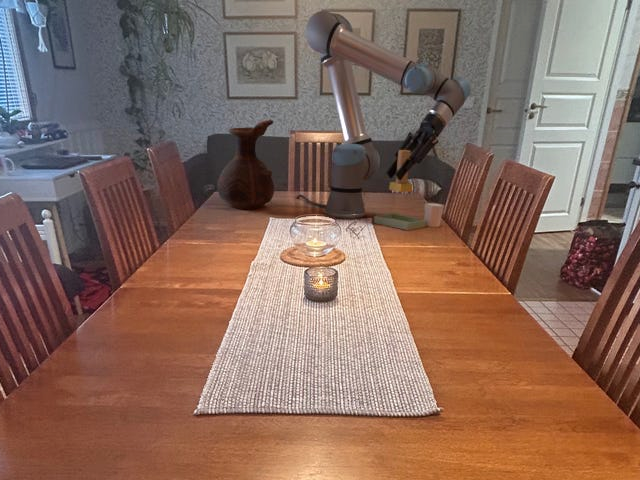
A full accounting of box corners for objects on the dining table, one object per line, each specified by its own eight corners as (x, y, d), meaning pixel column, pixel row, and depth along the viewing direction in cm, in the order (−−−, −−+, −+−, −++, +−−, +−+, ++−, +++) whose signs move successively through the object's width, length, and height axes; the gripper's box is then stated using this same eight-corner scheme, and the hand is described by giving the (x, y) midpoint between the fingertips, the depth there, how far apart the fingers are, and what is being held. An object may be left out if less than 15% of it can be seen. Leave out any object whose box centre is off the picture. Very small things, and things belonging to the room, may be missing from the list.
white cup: (442, 227, 209) (446, 206, 206) (423, 226, 209) (426, 205, 205) (439, 223, 215) (442, 203, 211) (420, 223, 215) (423, 202, 211)
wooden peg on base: (389, 189, 208) (393, 149, 201) (399, 189, 210) (404, 149, 203) (400, 192, 203) (405, 151, 197) (411, 191, 206) (416, 151, 199)
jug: (220, 211, 219) (217, 118, 203) (216, 201, 237) (212, 115, 221) (278, 211, 223) (279, 120, 207) (269, 201, 241) (270, 117, 225)
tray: (373, 222, 212) (374, 216, 211) (391, 219, 218) (392, 213, 217) (407, 230, 203) (408, 223, 202) (425, 227, 209) (426, 220, 208)
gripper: (458, 132, 198) (415, 188, 199) (423, 128, 210) (382, 181, 211) (449, 113, 193) (405, 171, 194) (414, 110, 205) (372, 165, 206)
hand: (393, 176), depth 202 cm, fingers closed on wooden peg on base, 4 cm apart
